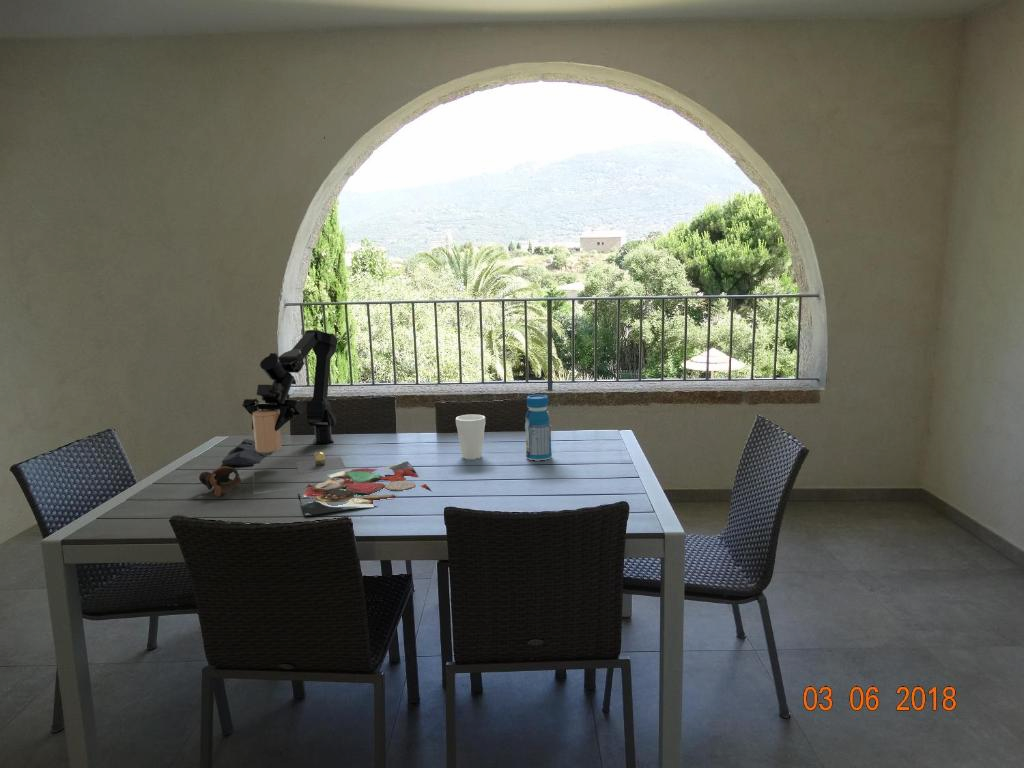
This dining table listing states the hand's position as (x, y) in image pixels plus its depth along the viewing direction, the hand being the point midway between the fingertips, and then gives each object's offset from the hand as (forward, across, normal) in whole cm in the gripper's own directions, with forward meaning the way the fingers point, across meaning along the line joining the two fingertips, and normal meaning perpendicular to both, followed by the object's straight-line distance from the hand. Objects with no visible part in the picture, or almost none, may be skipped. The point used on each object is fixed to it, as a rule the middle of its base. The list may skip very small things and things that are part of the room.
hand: (264, 429), depth 228 cm
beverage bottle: (-8, +82, +27) cm, 86 cm away
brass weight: (+4, +15, +13) cm, 20 cm away
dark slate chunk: (+1, -16, +19) cm, 25 cm away
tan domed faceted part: (+4, 0, +6) cm, 7 cm away
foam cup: (-7, +60, +26) cm, 65 cm away
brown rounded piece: (+24, -2, -6) cm, 25 cm away
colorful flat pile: (+19, +38, 0) cm, 43 cm away
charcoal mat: (+5, +15, +14) cm, 21 cm away
